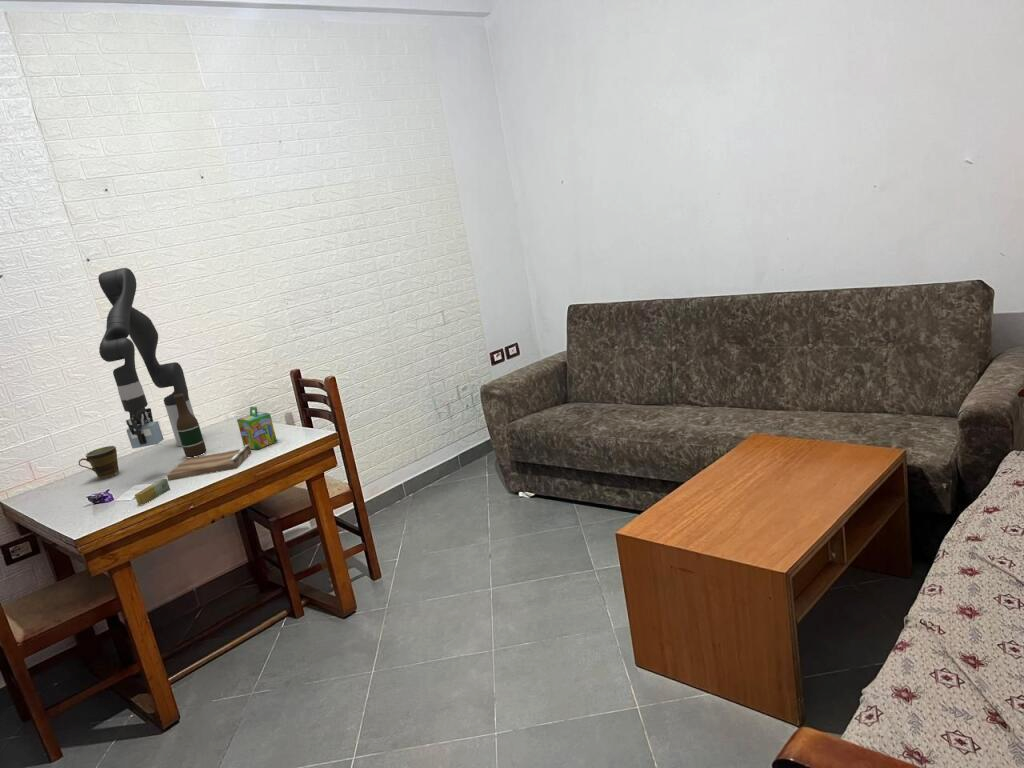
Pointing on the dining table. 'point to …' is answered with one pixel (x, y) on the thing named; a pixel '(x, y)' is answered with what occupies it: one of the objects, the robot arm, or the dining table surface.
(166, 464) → the dining table surface
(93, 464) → the ceramic cup
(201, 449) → the beer bottle
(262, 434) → the colorful gift box
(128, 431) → the tea carton
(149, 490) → the medication box
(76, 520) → the dining table surface
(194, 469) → the wooden tray
